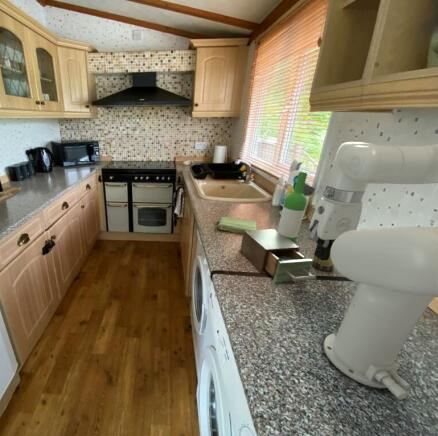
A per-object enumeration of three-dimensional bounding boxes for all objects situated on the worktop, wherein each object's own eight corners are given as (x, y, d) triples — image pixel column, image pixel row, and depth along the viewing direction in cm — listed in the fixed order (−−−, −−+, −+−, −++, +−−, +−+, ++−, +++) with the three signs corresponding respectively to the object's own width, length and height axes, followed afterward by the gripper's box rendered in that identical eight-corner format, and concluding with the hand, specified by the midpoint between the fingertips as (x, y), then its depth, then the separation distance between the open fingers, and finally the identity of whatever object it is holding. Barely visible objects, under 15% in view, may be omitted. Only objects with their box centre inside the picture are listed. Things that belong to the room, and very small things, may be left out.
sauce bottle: (336, 270, 86) (356, 219, 78) (322, 272, 85) (341, 220, 77) (320, 260, 92) (337, 211, 84) (307, 262, 90) (323, 213, 83)
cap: (294, 274, 80) (298, 262, 78) (282, 275, 80) (285, 263, 78) (285, 266, 84) (288, 255, 83) (274, 267, 84) (276, 256, 82)
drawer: (318, 289, 75) (325, 269, 72) (285, 292, 74) (291, 272, 71) (280, 257, 92) (285, 240, 89) (252, 259, 90) (256, 242, 87)
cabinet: (293, 269, 86) (299, 247, 83) (260, 272, 85) (266, 249, 81) (268, 248, 100) (273, 228, 96) (240, 250, 98) (243, 230, 94)
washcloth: (257, 236, 110) (258, 230, 108) (217, 230, 115) (217, 224, 114) (255, 225, 121) (256, 219, 120) (219, 220, 126) (219, 214, 125)
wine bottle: (274, 235, 111) (290, 170, 99) (293, 238, 109) (312, 171, 97) (276, 243, 104) (293, 174, 93) (296, 246, 102) (317, 175, 90)
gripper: (328, 200, 55) (306, 267, 63) (384, 198, 58) (356, 263, 65) (304, 191, 62) (287, 252, 70) (354, 189, 64) (332, 249, 72)
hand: (320, 257), depth 67 cm, fingers closed
